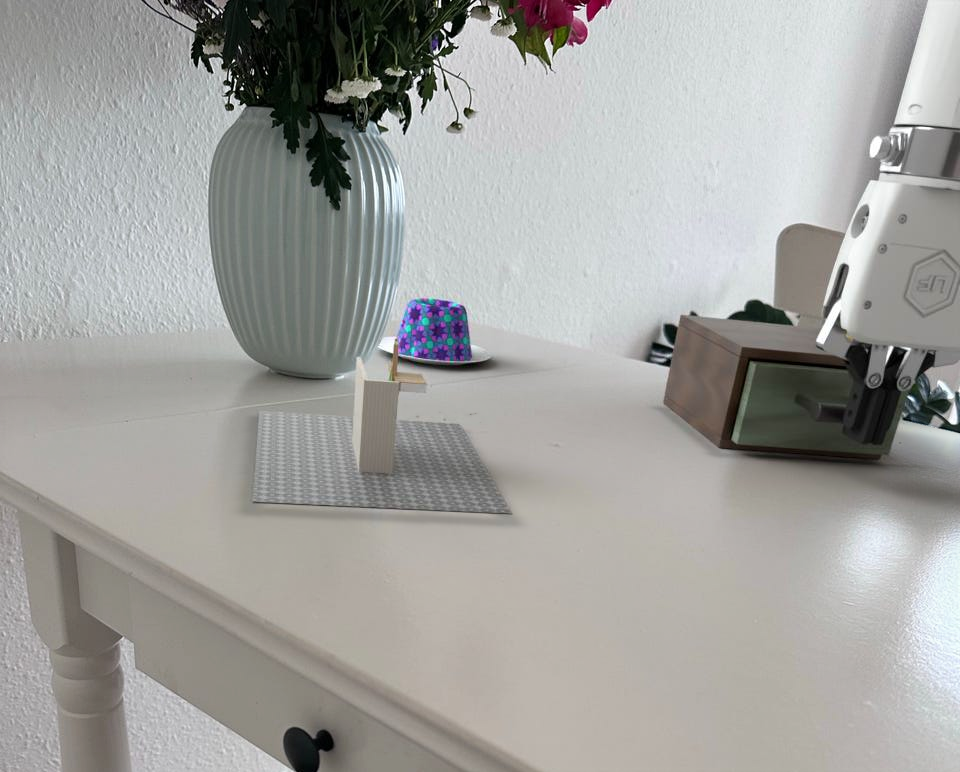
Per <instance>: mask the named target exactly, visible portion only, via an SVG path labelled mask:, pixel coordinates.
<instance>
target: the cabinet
mask: <svg viewBox="0 0 960 772" xmlns="http://www.w3.org/2000/svg"><path fill="white" fill-rule="evenodd" d="M821 329H822V327H821V328H820V327H810V326H800V325H792V324H791V325H789V324H779V323H770V322H769V323H768V322H759V321H750V320H739V319H731V318H719V317H708V316H700V315H699V316H698V315H688V314H680V316H679V321H678V326H677V331H676V335H675V339H674V346H673V349H672V355H671V360H670V365H669V369H668V375H667V381H666V384H665V391H664V396H663V399H662V403H663V404H664V405H665V406H667V408H669V409H670V410H671V411H673V412H674V413H675V414H676V415H678V416H679V417H680V418H681V419H683V420H684V421H685V422H687V424H689V425H690V426H691V427H692V428H693V429H695V430H696V431H698V432H699V433H700V435H702V436H704V437H705V438H706V439H707V440H709V441H710V442H711V443H712V444H714V445H715V446H716V447H717V448H718V449H731V450H744V451H745V450H746V451H759V452H760V451H761V452H772V453H773V452H774V453H785V454H786V453H788V454H802V455H815V456H826V457H828V456H830V457H842V458H855V459H870V460H880V459H881V457H882V455H876V454H863V453H849V452H835V451H822V450H808V449H794V448H781V447H767V446H753V445H740V444H736V443H735V442H733V441H732V436H733V431H732V427H733V423H734V419H735V414H736V410H737V406H738V402H739V398H740V393H741V389H742V385H743V381H744V376H745V372H746V368H747V364H748V359H749V358H756V359H767V360H778V361H789V362H800V363H811V364H822V365H833V366H844V367H846V366H845V364H844V362H843V361H842V359H841V358H840V357H837V356H835V355H832V354H830V353H827V352H825V351H823V350H820V349H818V348H817V347H816V339H817V337H818V335H819V333H820V331H821ZM846 338H847V340H848V341H850V342H852V343H853V339H850V338H848V337H846Z"/></svg>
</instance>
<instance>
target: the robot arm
mask: <svg viewBox="0 0 960 772" xmlns="http://www.w3.org/2000/svg"><path fill="white" fill-rule="evenodd" d="M921 20H922V21H921V25H920V28H919V32H918V36H917V39H916V43H915V45H914V50H913V54H912V56H911V61H910V65H909V68H908V72H907V76H906V79H905V83H904V87H903V89H902V93H901V97H900V100H899V103H898V104H899V105H898V107H897V112H896V115H895V119H894V123H893V126H891V127H890V129H889V132H888V134H886V135H879V134H877V135H875V136H874V138H872V140H871V142H870V145H869V149H868V150H869V151H868V155H869V158H871V159H875V160H876V159H878V161H879V162H880V164H879V168H878V171H879V172H880V173H879V176H878V180H873V179H870V180H869V182H868V184H867V186H866V187H865V190H864V191H863V193H862V195H861V198H860V199H859V202H858V204H857V206H856V208H855V211H854V213H853V215H852V217H851V220H850V222H849V224H848V227H847V230H846V232H845V235H844V236H843V237H844V238H843V240H842V243H841V245H840V248H839V251H838V254H837V257H836V260H835V263H834V266H833V269H832V271H831V276H830V278H829V280H828V281H829V282H828V284H827V289H826V292H825V295H824V301H823V305H822V310H821V322H822V327H821V331H820V333H819V335H818V337H817V339H816V347H817V348H818V349H820V350H823V351H825V352H827V353H830V354H832V355H835V356H837V357H840V358H841V359H842V361H843V362H844V364H845V366H846V368H847V369H848V375H849V377H850V379H852V380H854V382H853V385H852V388H851V392H850V395H849V399H848V402H847V406H846V409H845V413H844V416H843V425H844V426H843V434H844V435H846V436H848V437H849V438H851V439H853V440H854V441H856V442H858V443H860V444H869V443H871V444H873V445H882V444H883V442H884V439H885V436H886V432H887V431H888V430H889V428H890V426H891V424H892V420H893V417H894V414H895V411H896V408H897V404H898V401H899V398H900V395H901V392H902V391H906V390H908V389H909V388H910V389H911V388H912V386H913V384H914V382H915V380H916V379H917V378H919V377H920V376H922V375H923V374H924V373H926V372H927V371H928V370H929V369H931V368H939V367H947V366H950V365H951V366H953V365H955V364H957V363H958V362H959V361H960V0H927V2H926V6H925V10H924V15H923V16H922V19H921ZM846 333H847V334H849V335H850V336H851V337H852V338H853V343H852V342H850V341H848V340H847V338H846ZM910 389H909V390H910Z"/></svg>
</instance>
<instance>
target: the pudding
mask: <svg viewBox="0 0 960 772" xmlns="http://www.w3.org/2000/svg"><path fill="white" fill-rule="evenodd" d="M382 338H383V339H382V341H381V343H380V344H379V346H378V347H377V348H378V349H380V350H383V351H384V352H387V353H390V354H392V355H393V348H394V344H395V338H396V339H398V340H397V341H398V343H399V351H398V358H401V359H405V360H408V361H411V362H415V363H422V364H428V365H429V364H430V365H437V366H438V365H439V366H461V365H466V364H467V365H468V364H473V363H480V362H484V361H487V360H489V359H491V358H492V357H493V355H492V353H491V352H490V351H488V350H487V349H485V348H483V347H481V346H477V345H474V344H471V336H470V328H469V320H468V312H467V310H466V307H465V306H464V305H463V304H461V303H457V302H454V301H450V300H444V299H443V300H442V299H439V298H423V297H422V298H421V297H420V298H413V299H411V300H409V301H408V303H407V304H406V306H405V310H404V312H403V316H402V319H401V323H400V326H399V329H398V333H397V334H396V335H394V336H386V337H382Z"/></svg>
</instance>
